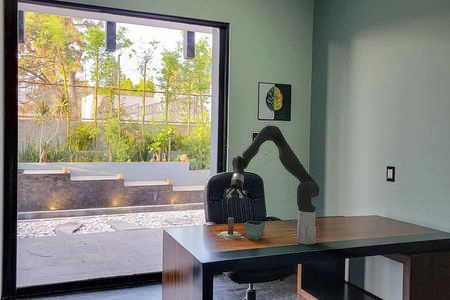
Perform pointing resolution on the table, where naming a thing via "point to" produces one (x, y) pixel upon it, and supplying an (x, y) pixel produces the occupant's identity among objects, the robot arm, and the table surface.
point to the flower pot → (254, 229)
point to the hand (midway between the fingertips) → (233, 204)
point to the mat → (230, 238)
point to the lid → (230, 230)
